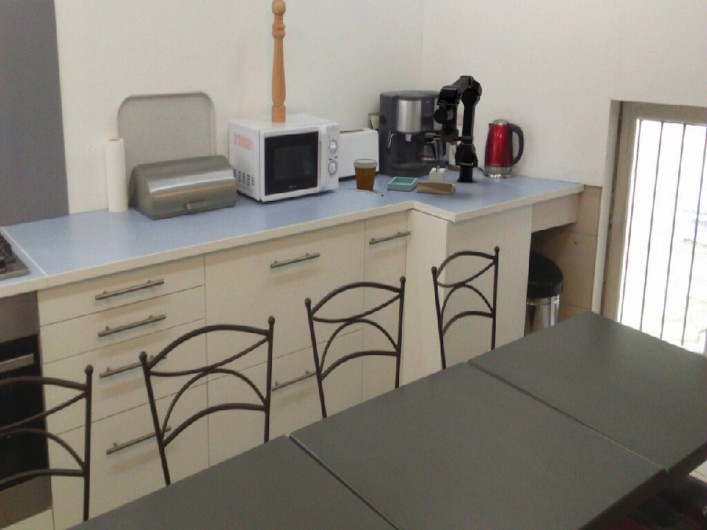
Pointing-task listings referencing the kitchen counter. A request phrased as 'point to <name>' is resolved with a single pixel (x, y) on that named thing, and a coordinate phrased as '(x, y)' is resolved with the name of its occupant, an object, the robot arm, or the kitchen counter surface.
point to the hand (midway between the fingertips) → (447, 160)
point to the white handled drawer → (437, 175)
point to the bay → (435, 187)
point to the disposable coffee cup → (365, 173)
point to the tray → (402, 184)
